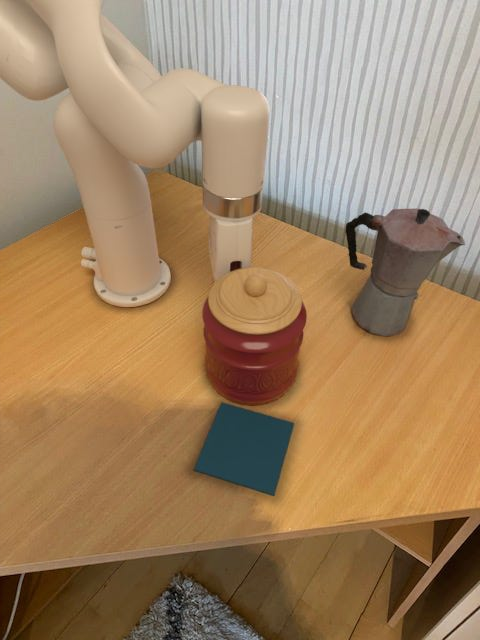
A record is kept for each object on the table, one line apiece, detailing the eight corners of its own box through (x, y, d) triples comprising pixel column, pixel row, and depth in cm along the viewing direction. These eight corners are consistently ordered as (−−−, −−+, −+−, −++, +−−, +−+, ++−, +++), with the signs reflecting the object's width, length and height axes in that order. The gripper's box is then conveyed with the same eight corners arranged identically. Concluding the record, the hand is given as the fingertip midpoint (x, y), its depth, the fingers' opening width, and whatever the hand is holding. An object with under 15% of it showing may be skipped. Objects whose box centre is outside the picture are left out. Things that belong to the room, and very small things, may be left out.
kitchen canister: (300, 409, 63) (318, 318, 50) (203, 407, 63) (196, 316, 50) (293, 335, 72) (307, 242, 59) (208, 334, 72) (203, 240, 59)
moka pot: (429, 347, 71) (481, 239, 56) (325, 331, 73) (349, 222, 58) (425, 303, 77) (470, 196, 63) (330, 289, 79) (353, 182, 65)
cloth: (193, 470, 57) (193, 469, 57) (221, 403, 64) (221, 402, 63) (274, 496, 55) (274, 494, 55) (294, 424, 62) (294, 422, 61)
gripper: (197, 164, 64) (200, 267, 78) (208, 233, 54) (209, 337, 68) (252, 162, 65) (245, 264, 78) (273, 229, 55) (261, 332, 69)
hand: (228, 297), depth 73 cm, fingers closed
